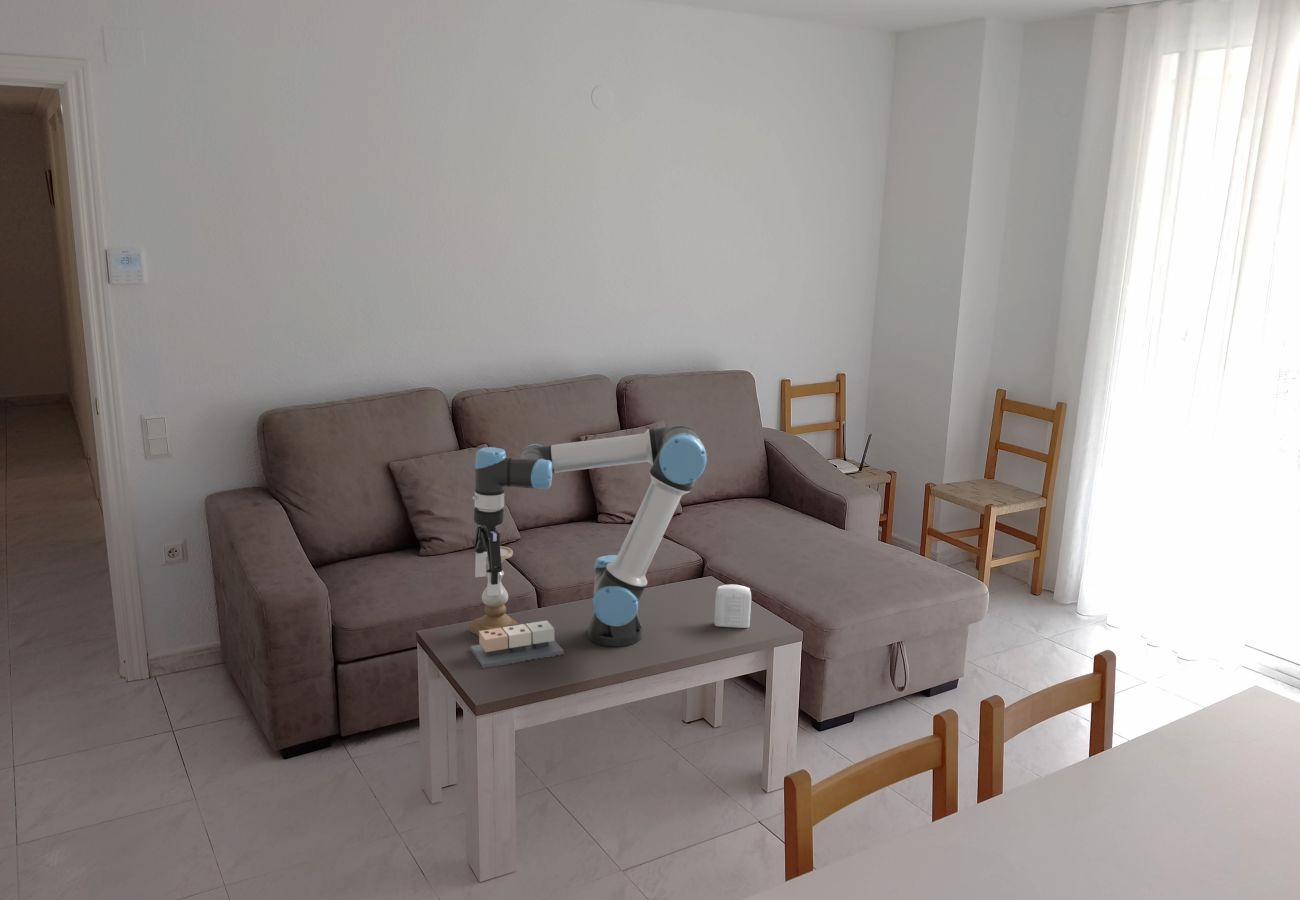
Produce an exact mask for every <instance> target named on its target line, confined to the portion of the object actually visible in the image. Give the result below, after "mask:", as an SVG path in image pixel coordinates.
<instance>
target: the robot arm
mask: <svg viewBox="0 0 1300 900" xmlns="http://www.w3.org/2000/svg"><path fill="white" fill-rule="evenodd" d="M475 454H476V455H475V465H474V495H473V496H472V500H474V505H473V506H474V510H473V522H474V524H476V525H477V526H476V531H475V535H474V542H473V547H474V550H475V565H474V566H475V567H474V569H475V570H474V571H475V572H474V577H475V578H483V577H484V578H485V577H486V578H487V576H486V571H487V573H488V578H487V585H488V589H487V595H488V596H494V595H498V592H499V572H502V570H503V568H502V567H503V565H502V563H501V553H500V546H501V544H500V539H501V538H500V536H501V534H500V532H498V530H497V529H496V527H497V526H499V525H502V524H503V523H504V512H505V511H504V507H505V487H506V488H520V489H533V490H544V489H545V490H548V489H550V487H551V486H552V480H553V474H556V473H563V472H564V473H565V472H572V471H580V470H587V469H596V468H605V467H612V466H614V467H615V466H623V465H631V464H640V463H645V462H646V463H649V464H650V465H652V466H651V468H650V470H649V472H648V474H649V476H650V478H651V482H650V484H649V486H648V488H647V491H646V493H645V494H644V497H643V500H642V501H641V504H640V506H639V508H638V510H637V512H636V515H635V516H634V518H633V519H634V520H633V521H632V523H631V526H630V527H629V530H628V532H627V535H626V536H625V539H624V541H623V543H622V545H621V547H620V549H619V552H618V554H609V555H602V556H598V557H597V558H596V559H595V562H594V567H593V569H594V583H593V585H594V586H593V587H594V588H593V596H592V602H591V603H592V608H593V613H592V615H591V619H590V622H589V625H588V628H587V636H588V639H589V640H590V641H591V642H592V643H595V644H596V645H600V646H604V647H615V648H616V647H617V648H619V647H625V646H631V645H634V644H637V643H638V642H640V641H641V639H642V638H643V626H642V622H641V620H640V616H639V614H638V611H639V608H640V606H639V602H640V600H641V599H642V596H643V593H644V591H645V589H646V587H647V585H648V580H647V578H646V574H647V571H648V570H649V567H650V565H651V563H652V561H653V558H654V556H655V554H656V552H657V550H658V548H659V545H660V544H661V541H662V539H663V537H664V535H665V533H666V530H667V528H668V527H669V524H670V521H671V520H672V518H673V516H674V514H675V511H676V510H677V507H678V505H679V503H680V502H681V499H682V496H684V495H686V494H689V493H690V492H691V491H692V489H693V487H694V485H695V482H696V481H697V480H698V479H699V478H700V477H701V475H702V474H703V473H704V472H705V469H706V465H707V462H708V461H707V460H708V459H707V457H708V456H707V451H706V449H705V445H704V444H703V441H702V438H701V436H700V434H699V433H698V431H696V430H695V429H693V428H692V427H690V426H687V425H683V424H676V425H675V424H674V425H667V426H661V427H655V428H654V427H653V428H647V430H646V431H645V432H644V433H638V434H630V435H620V436H615V437H613V436H612V437H606V438H605V437H604V438H598V439H589V440H582V441H581V440H580V441H573V442H565V443H558V444H557V443H556V444H551V445H541V444H538V443H532V444H530V445H527V447H525V448H524V449H523V450H522V451H521V453H520V455H519V458H518V457H509V456H507V455H506V454H507V453H506V450H505V449H503V448H499V447H494V446H490V447H489V446H488V447H482V448H479V449H478V450H477V451H476V453H475ZM476 552H477V553H476ZM483 552H487V557H488V564H489V569H488V568H487V565H488V564H487V562H486V553H483Z"/></svg>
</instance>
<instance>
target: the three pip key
mask: <svg viewBox="0 0 1300 900" xmlns="http://www.w3.org/2000/svg"><path fill="white" fill-rule="evenodd" d="M478 643H479V644H478V645H481V646H482V648H483V649H484V651H485V652H490V651H496V650H502V649H508V636H507V635H506V633H505V632H504V631H503V630H502V628H495V629H489V630H483V631H479V637H478Z"/></svg>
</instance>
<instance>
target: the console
mask: <svg viewBox="0 0 1300 900" xmlns="http://www.w3.org/2000/svg"><path fill="white" fill-rule="evenodd" d="M471 650H472V651H471ZM470 651H471V653H472V654H473V653H474V654H473V655H474V657H475V656H476V657H475V658H476V660H477V659H478V660H477V661H478V663H479V662H480V663H479V665H480V666H481V665H482V666H481V668H482V669H487V668H486V667H489V668H492V667H491V666H494V667H498V666H497V665H500V666H503V665H502V664H506V665H510V664H509V663H512V664H514V663H513V662H518V661H523V660H524V661H523V662H526V661H525V660H529V661H531V660H530V659H535V660H538V659H537V658H541V659H545V658H544V657H547V658H551V656H552V657H556V655H558V656H561V654H565V653H564V651H565V650H564V649H563V648H562V646H560V644H559V643H558V642H557V641H556V640H555V639H554V641H550V642H544V643H538V644H532V642H531V645H526V646H520V647H514V648H509V647H508V649H502V650H496V651H490V652H485V651H484V649H483V648H482V646H481V645H480V644H477V645H471V646H470ZM518 663H519V662H518Z"/></svg>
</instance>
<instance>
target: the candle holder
mask: <svg viewBox="0 0 1300 900" xmlns="http://www.w3.org/2000/svg"><path fill="white" fill-rule="evenodd" d="M476 553H477V552H476V551H475V554H476ZM483 553H486V565H487V570H488V569H489V564H488V557H487V552H483ZM500 553H501V564H502V563H503V562H504V560H507V559H510V558H511V557H512V556H513V555H514V551H513V549H512V548H510V547H508V546H503V545H500ZM487 570H486V578H487V579H488V573H487ZM504 575H505V571H503V569H502V572H499V592H498V595H494V596H488V595H487V589H488V584H487V585H486V587H485V589H484V590H483V592H482V595H481V601H482V602H483V604H485V606H484V610H483V611H484V613H485V614H484V615H482V616H481V617H478V618H474V619H473V620H472V623H469V631H470V632H471V633H472V632H473V633H474V634H473V633H472V634H473V635H475V634H476V635H477V636H476V635H475V636H476V637H478V636H479V631H483V630H489V629H495V628H502V630H503V627H508V626H514V625H519V623H518V622H517V621H516V620H515V619H513V618H512V617H511V616H509V615H508V614H507V613H506V612H507V607H506V605H505V604H506V603H507V602H508V600H509V593H508V591H507V589H506V588H505V586H504V585H503V583H502V579H503V576H504Z"/></svg>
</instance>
